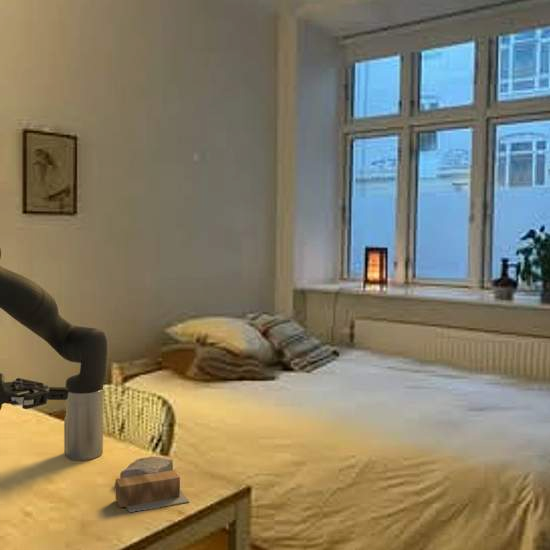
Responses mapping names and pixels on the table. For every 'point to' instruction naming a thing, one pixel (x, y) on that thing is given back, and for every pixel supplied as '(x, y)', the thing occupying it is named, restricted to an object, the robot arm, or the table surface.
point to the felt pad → (158, 503)
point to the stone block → (147, 466)
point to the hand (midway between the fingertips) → (67, 393)
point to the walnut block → (147, 488)
